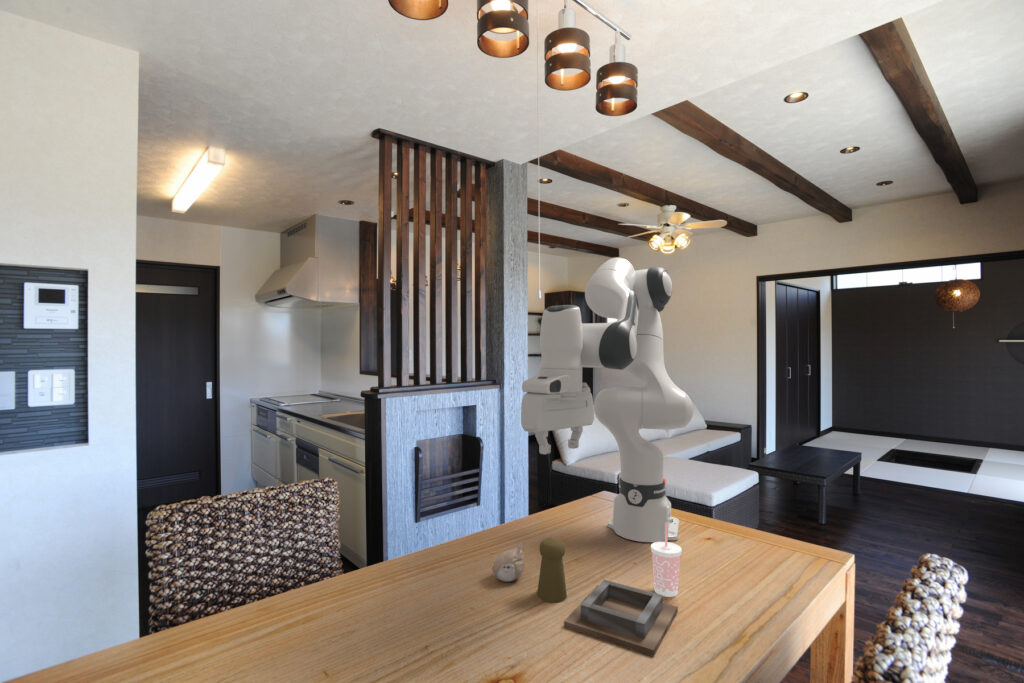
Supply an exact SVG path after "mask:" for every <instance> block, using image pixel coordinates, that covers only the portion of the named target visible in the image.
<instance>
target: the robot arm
mask: <svg viewBox="0 0 1024 683" xmlns="http://www.w3.org/2000/svg"><path fill="white" fill-rule="evenodd" d="M584 290H585V291H584V298H585V301H586V305H587V306H588V307H589V309H590V310H591V311H592V312H593V313H595V314H596V315H597V316H599V317H601V318H605V319H606V318H607V319H615V320H616V321H612V322H595V323H594V322H593V323H590V322H588V323H587V322H586V323H583V322H582V313H581V308H580V307H579V306H578V305H574V304H562V305H561V304H560V305H551V306H548V307H546V308H544V310H543V312H542V317H541V322H540V323H541V324H540V332H539V350H540V354H541V360H540V363H539V372H538V373H536V374H535V375H533V376H531V377H530V378H528V379H525V380H524V381H523V382H522V383H521V390H522V392H523V393H524V395H523V396H522V398H521V407H520V424H521V427H522V430H523V431H524V432H528V433H535V434H534V435H535V438H536V441H537V444H538V445H539V446H538V447H539V448H538V451H539V454H540V455H548V454H549V455H550V454H551V452H552V450H551V449H552V445H551V444H549V442H548V437H549V432H551V431H558V430H565V429H570V431H571V435H570V438H569V439H567V447H568V448H569V449H579V447H580V446H579V445H580V439H581V436H582V434H583V430H584V428H583V427H587V426H591V425H593V423H594V420H595V418H596V419H597V420H598V422H599V423H600V424H602V425H603V427H605V428H606V429H607V430H608V431H609V432H610V433H611V435H612V436H613V437H614V439H615V442H616V443H617V446H618V451H619V458H620V478H619V479H618V492H619V493H618V494H616V496H615V497H614V498H613V510H612V520H609V521H607V527H608V528H610V529H612V530H613V531H614V532H615V534H616V535H618V536H620V537H622V538H624V539H626V540H630V541H633V542H634V541H635V542H640V543H641V542H642V543H654V542H665V522H667V523H668V534H667V541H677V540H678V539H679V530H680V519H679V518H677V517H675V516H672V502H671V501H670V500H669V498H668V497H667V495H666V494H667V491H666V484H667V480H666V478H665V477H664V454H663V451H662V450H661V449H660V447H659V446H657V445H656V444H654V443H653V442H651V441H649V440H647V439H646V438H644V437H642V435H641V433H640V430H642V429H646V430H663V431H665V430H676V429H684V428H686V426H688V425H689V424H690V422H691V421H692V418H693V415H694V406H693V402H692V400H691V397H690V396H689V395H688V394H687V393H686V392H685V391H684V390H682V389H681V388H679V386H677V384H675V383H674V382H673V380H672V379H671V378H670V375H669V374H668V372H667V369H666V365H665V354H664V329H663V323H662V319H661V315H660V313H661V312H662V311H664V310H665V307H666V305H668V303H669V301H670V300H671V297H672V295H673V282H672V278H671V277H670V274H669V272H668V271H667V270H666V269H665V268H663V267H661V266H660V267H659V266H658V267H657V266H653V267H649V268H646V269H645V268H643V269H638V270H635V268H634V266H633V264H632V263H631V262H630V261H628V259H625V258H623V257H611V258H610V259H607V261H604V263H602V264H601V265H600V266H599V267H598V268H597V269H596V271H595V272H594V273H593V274H592V276H591V277H590V279H589V280H588V282H587V284H586V287H585V289H584ZM583 368H600V369H602V368H603V369H604V368H606V369H611V370H620V371H621V370H625V372H626V373H628V374H629V376H632V377H633V378H635V379H638V380H640V381H641V382H642V383H643V384H644V385H645V386H643V387H637V386H636V387H634V386H633V387H630V386H615V387H608V388H603V389H601V390H600V391H599V392H598V393H597V394H596V396H595V398H594V399H593V394H592V393H591V388H590V386H589V385H588V384H587V382H585V381H583Z"/></svg>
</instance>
